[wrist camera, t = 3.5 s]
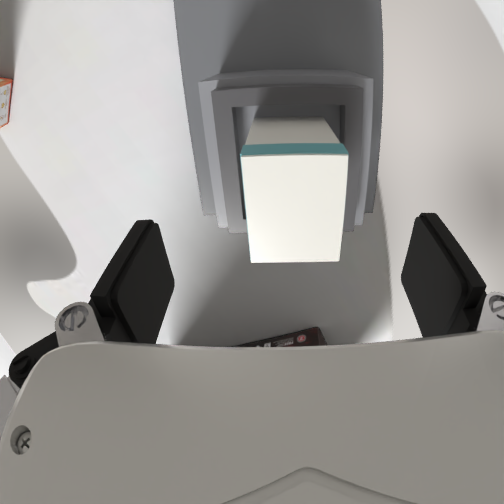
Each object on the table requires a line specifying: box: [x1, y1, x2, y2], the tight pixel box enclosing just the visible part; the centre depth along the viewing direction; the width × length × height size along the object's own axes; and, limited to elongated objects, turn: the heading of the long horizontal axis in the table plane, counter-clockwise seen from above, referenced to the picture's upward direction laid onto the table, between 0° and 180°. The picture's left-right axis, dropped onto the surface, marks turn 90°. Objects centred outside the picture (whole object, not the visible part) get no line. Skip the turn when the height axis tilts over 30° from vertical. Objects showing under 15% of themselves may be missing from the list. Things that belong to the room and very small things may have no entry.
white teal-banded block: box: [240, 117, 349, 263], centre depth 15 cm, size 5×4×7 cm
